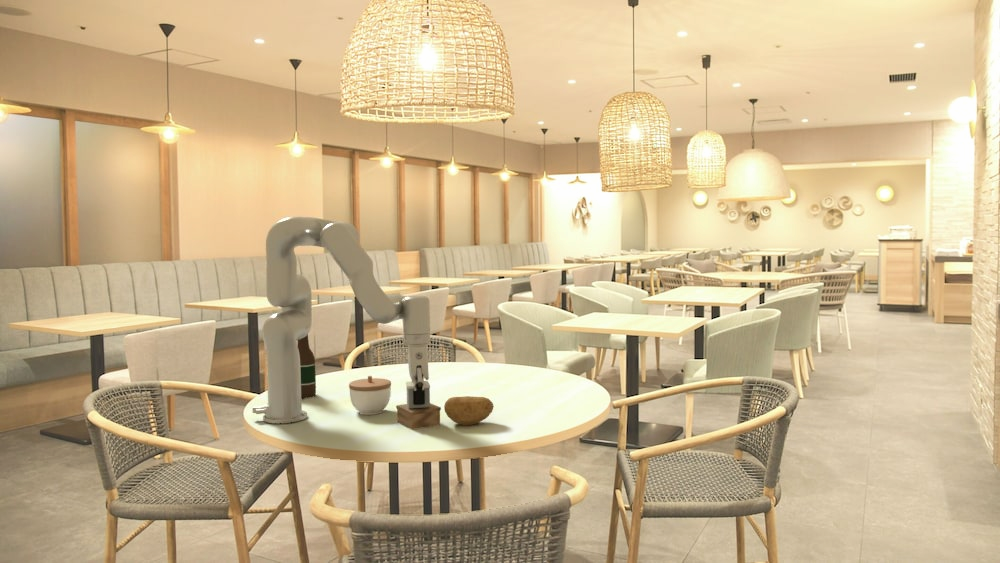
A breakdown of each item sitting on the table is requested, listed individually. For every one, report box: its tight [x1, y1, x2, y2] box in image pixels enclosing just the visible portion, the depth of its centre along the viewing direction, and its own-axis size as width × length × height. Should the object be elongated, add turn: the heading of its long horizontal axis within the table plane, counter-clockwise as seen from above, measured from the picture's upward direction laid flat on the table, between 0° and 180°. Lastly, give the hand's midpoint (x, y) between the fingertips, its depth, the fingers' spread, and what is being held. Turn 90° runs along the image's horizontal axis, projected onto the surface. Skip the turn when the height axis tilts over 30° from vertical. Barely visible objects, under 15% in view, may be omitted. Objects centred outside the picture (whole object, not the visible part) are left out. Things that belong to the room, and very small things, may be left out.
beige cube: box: [405, 380, 431, 408], centre depth 210 cm, size 6×6×6 cm
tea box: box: [395, 402, 442, 430], centre depth 210 cm, size 9×9×5 cm
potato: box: [443, 396, 494, 426], centre depth 209 cm, size 10×14×8 cm
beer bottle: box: [297, 333, 317, 399], centre depth 245 cm, size 8×8×24 cm
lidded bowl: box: [348, 375, 392, 416], centre depth 224 cm, size 13×13×11 cm
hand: (418, 401), depth 210 cm, fingers closed on beige cube, 5 cm apart
